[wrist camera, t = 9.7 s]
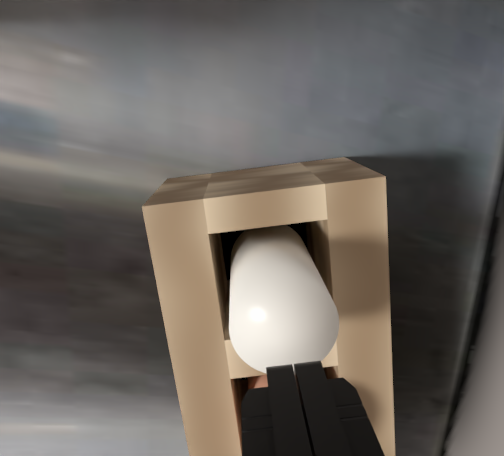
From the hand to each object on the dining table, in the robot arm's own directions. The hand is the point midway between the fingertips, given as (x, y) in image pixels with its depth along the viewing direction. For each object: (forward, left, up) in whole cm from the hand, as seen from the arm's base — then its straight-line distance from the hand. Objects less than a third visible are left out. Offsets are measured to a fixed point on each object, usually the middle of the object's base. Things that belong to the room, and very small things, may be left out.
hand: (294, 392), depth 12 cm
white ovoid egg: (0, 0, -10) cm, 10 cm away
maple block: (0, -7, -14) cm, 16 cm away
